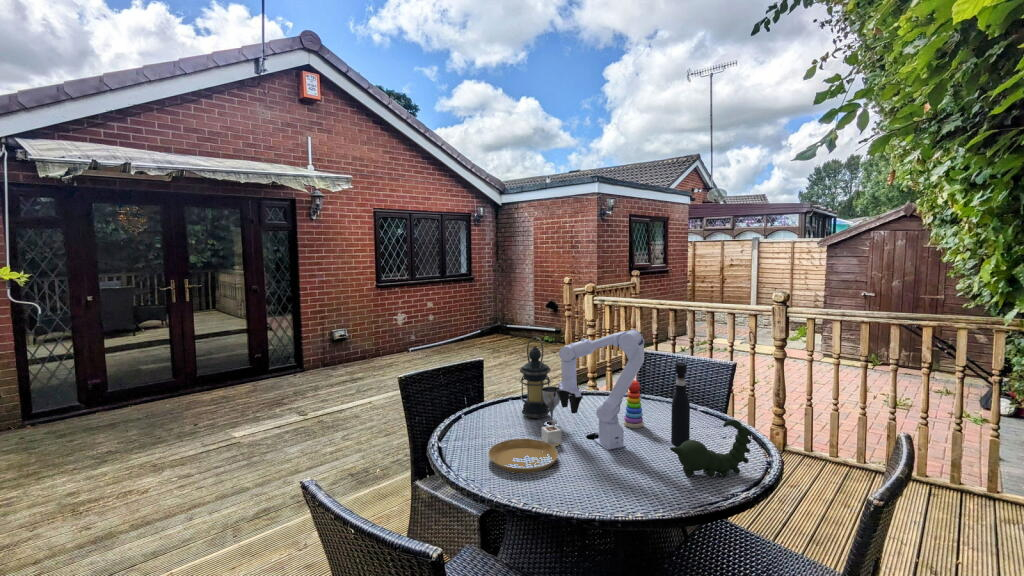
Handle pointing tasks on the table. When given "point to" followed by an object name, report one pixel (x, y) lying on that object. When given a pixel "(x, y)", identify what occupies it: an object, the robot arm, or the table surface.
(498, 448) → the plant saucer
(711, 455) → the toy figurine
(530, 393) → the lantern
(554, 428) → the collar
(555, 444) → the post stand
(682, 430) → the wine bottle
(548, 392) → the wine glass
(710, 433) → the table surface
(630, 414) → the stacking toy
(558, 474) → the table surface
